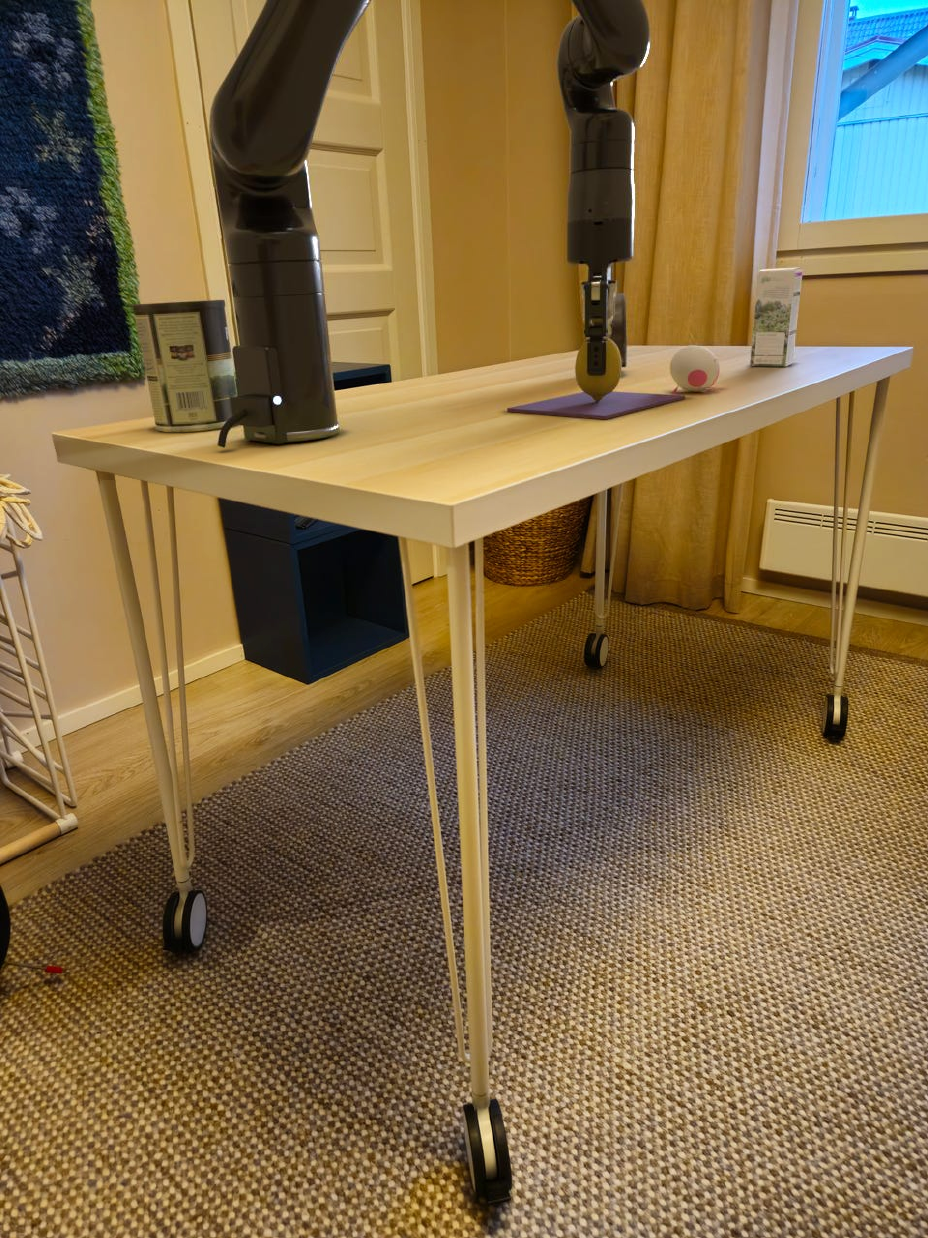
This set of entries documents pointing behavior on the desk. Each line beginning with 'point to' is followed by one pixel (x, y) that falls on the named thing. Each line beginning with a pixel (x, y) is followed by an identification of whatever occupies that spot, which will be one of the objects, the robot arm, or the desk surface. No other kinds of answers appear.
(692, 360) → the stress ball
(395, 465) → the desk surface
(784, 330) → the syrup box
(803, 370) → the desk surface
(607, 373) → the lemon
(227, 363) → the coffee can
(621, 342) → the alarm clock
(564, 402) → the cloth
